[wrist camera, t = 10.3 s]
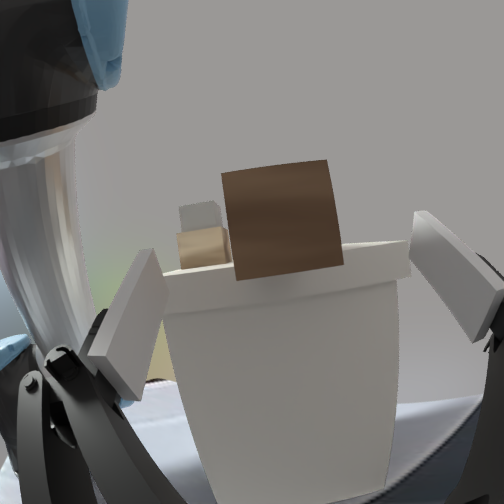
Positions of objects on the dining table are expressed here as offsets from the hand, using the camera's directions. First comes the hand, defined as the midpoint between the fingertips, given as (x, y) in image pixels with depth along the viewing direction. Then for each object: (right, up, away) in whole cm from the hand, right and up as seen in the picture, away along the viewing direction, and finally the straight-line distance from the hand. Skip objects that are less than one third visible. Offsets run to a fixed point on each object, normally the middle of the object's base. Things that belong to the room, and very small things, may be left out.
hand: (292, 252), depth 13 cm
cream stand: (+5, -30, +17) cm, 35 cm away
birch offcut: (-7, -1, +20) cm, 21 cm away
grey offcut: (-8, +2, +20) cm, 22 cm away
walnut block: (0, -1, +11) cm, 11 cm away
